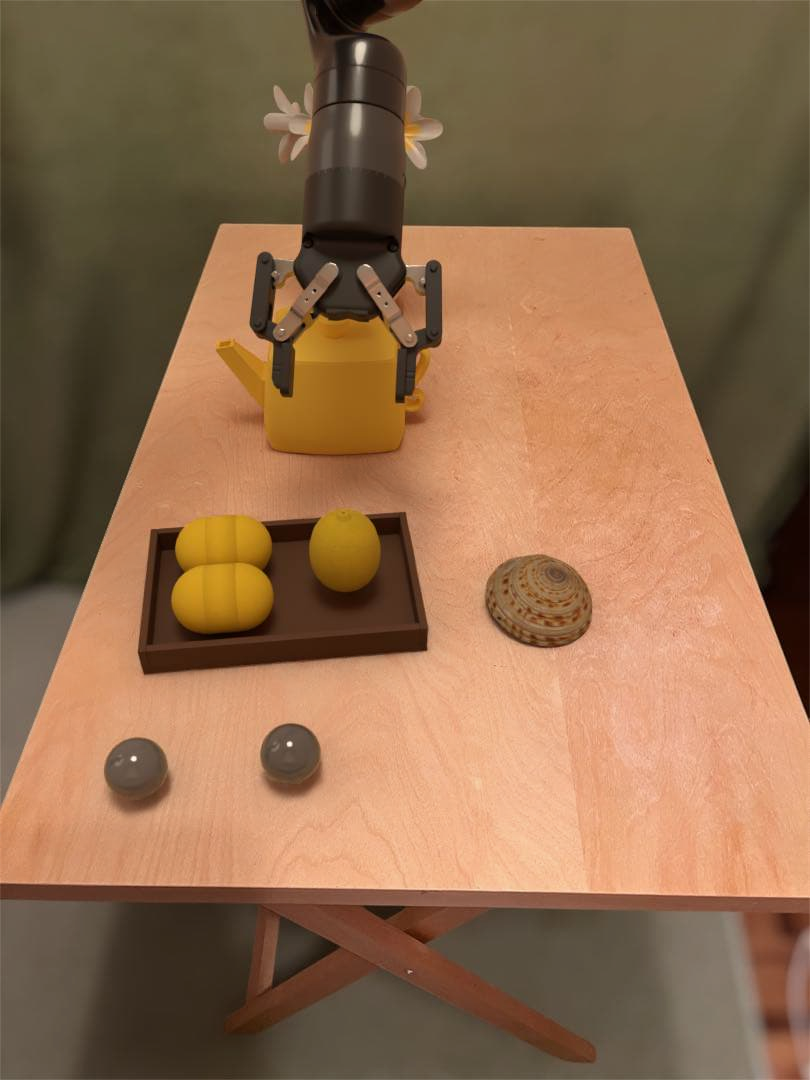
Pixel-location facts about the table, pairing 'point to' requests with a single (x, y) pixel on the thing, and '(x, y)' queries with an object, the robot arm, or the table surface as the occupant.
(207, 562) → the yellow banded capsule
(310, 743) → the stone right
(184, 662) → the tray
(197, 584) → the yellow ribbed oblong body
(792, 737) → the table surface
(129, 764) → the glossy gray ball
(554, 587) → the seashell
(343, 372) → the teapot
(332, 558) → the lemon
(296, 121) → the flower vase
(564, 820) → the table surface
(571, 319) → the table surface
